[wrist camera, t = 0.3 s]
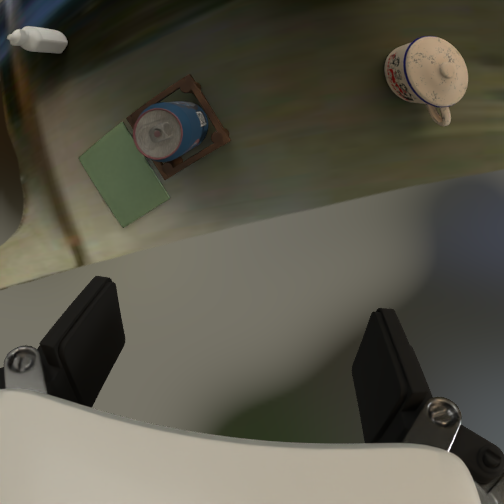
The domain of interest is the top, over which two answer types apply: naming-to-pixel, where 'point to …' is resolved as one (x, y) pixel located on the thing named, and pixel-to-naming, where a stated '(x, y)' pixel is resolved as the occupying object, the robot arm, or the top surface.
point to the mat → (123, 176)
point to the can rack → (221, 134)
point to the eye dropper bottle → (39, 39)
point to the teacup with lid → (428, 75)
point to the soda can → (169, 130)
